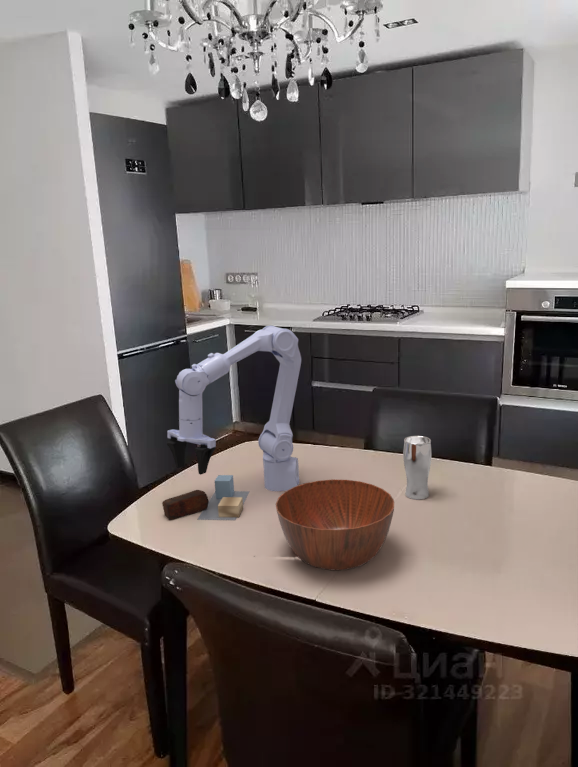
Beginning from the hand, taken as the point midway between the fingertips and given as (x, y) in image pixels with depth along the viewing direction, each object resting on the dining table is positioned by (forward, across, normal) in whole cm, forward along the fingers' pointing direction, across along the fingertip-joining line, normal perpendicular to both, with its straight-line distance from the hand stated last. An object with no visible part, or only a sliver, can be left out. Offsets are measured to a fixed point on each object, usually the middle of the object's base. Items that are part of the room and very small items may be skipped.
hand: (191, 470), depth 151 cm
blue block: (+9, +3, +9) cm, 13 cm away
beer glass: (+6, +46, +35) cm, 58 cm away
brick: (+10, +1, -3) cm, 11 cm away
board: (+10, +7, +5) cm, 13 cm away
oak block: (+9, +11, +2) cm, 15 cm away
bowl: (+9, +43, 0) cm, 44 cm away
